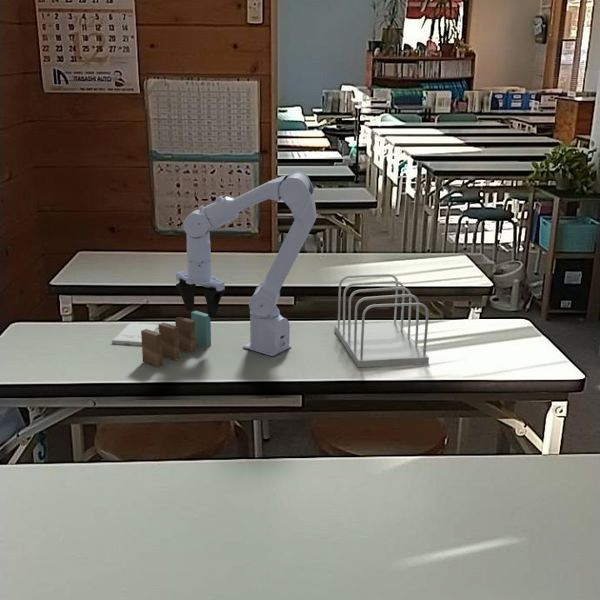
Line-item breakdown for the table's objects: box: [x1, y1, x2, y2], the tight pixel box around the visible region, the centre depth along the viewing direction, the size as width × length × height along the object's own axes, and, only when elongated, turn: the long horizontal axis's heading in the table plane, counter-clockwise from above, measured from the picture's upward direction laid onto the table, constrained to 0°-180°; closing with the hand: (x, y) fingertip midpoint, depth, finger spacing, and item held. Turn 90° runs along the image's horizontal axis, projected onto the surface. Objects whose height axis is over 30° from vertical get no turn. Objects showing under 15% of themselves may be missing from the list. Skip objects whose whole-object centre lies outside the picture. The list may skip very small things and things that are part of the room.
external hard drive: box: [111, 322, 159, 346], centre depth 190 cm, size 2×8×12 cm
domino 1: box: [141, 329, 164, 369], centre depth 172 cm, size 2×5×8 cm, turn 54°
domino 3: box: [174, 316, 197, 354], centre depth 180 cm, size 2×5×8 cm, turn 54°
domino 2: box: [158, 322, 181, 361], centre depth 176 cm, size 2×5×8 cm, turn 54°
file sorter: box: [334, 273, 430, 368], centre depth 183 cm, size 25×17×16 cm
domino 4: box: [190, 310, 212, 347], centre depth 184 cm, size 2×5×8 cm, turn 54°
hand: (201, 312), depth 183 cm, fingers open, 7 cm apart
